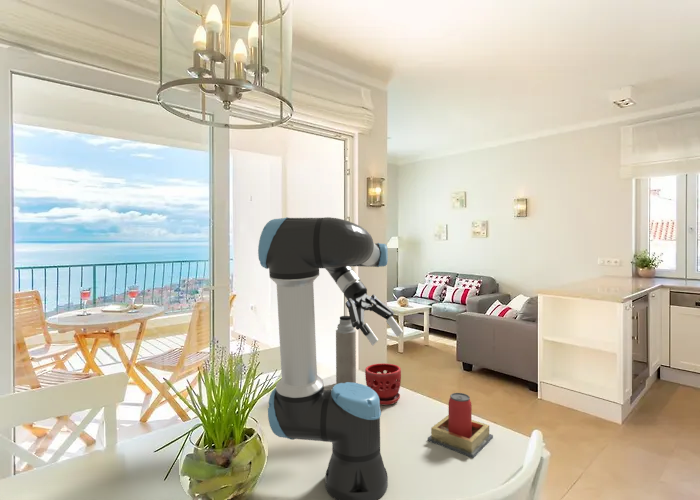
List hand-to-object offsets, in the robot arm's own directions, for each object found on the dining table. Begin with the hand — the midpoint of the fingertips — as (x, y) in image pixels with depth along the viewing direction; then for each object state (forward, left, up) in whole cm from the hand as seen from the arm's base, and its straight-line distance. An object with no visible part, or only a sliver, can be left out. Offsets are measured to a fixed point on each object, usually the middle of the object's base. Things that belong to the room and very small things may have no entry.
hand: (388, 338), depth 124 cm
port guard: (+6, -22, -28) cm, 36 cm away
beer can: (+6, -21, -27) cm, 35 cm away
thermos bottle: (+16, +32, -28) cm, 46 cm away
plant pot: (+14, +12, -28) cm, 34 cm away
